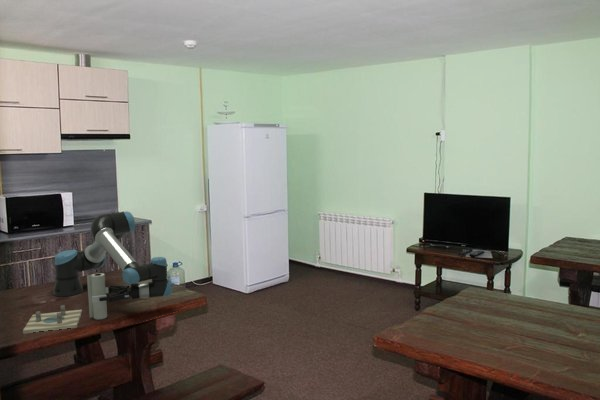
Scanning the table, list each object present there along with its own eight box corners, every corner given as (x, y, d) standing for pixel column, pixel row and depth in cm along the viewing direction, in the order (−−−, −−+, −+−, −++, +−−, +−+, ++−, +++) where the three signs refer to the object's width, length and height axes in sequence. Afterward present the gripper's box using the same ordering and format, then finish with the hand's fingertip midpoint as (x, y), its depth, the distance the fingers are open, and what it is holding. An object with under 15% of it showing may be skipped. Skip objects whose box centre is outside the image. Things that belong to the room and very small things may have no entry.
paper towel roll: (110, 316, 245) (107, 273, 242) (99, 320, 239) (96, 276, 237) (100, 314, 248) (97, 271, 246) (89, 318, 243) (86, 274, 241)
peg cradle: (33, 317, 245) (32, 305, 244) (82, 312, 252) (81, 300, 251) (23, 333, 224) (21, 320, 224) (76, 327, 231) (76, 315, 230)
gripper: (140, 306, 237) (91, 311, 230) (139, 291, 260) (95, 295, 254) (139, 290, 236) (90, 295, 229) (139, 276, 259) (94, 280, 253)
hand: (92, 295), depth 242 cm, fingers open, 13 cm apart
